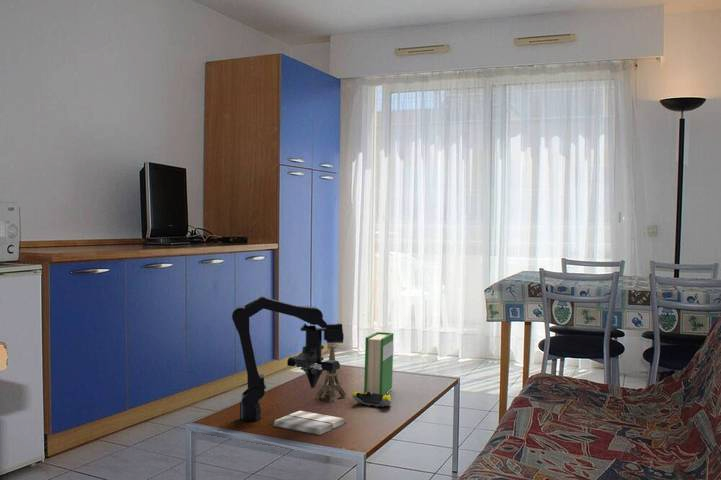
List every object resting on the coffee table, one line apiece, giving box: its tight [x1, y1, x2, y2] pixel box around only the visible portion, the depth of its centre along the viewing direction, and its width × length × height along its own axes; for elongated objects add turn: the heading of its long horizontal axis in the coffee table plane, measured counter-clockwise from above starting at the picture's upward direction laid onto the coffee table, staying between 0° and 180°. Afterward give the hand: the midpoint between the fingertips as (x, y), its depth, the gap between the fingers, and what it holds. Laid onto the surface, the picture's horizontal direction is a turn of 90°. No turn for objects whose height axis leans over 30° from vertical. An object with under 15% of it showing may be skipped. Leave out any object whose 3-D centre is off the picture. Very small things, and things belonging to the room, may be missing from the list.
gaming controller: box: [351, 391, 392, 408], centre depth 251 cm, size 15×6×10 cm
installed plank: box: [273, 415, 333, 436], centre depth 217 cm, size 18×8×2 cm, turn 61°
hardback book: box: [363, 331, 395, 395], centre depth 271 cm, size 18×7×24 cm, turn 164°
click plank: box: [287, 410, 345, 430], centre depth 224 cm, size 18×7×2 cm, turn 61°
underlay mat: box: [274, 422, 347, 436], centre depth 221 cm, size 19×17×1 cm
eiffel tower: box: [312, 343, 349, 403], centre depth 261 cm, size 11×11×25 cm
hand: (312, 387), depth 229 cm, fingers closed
